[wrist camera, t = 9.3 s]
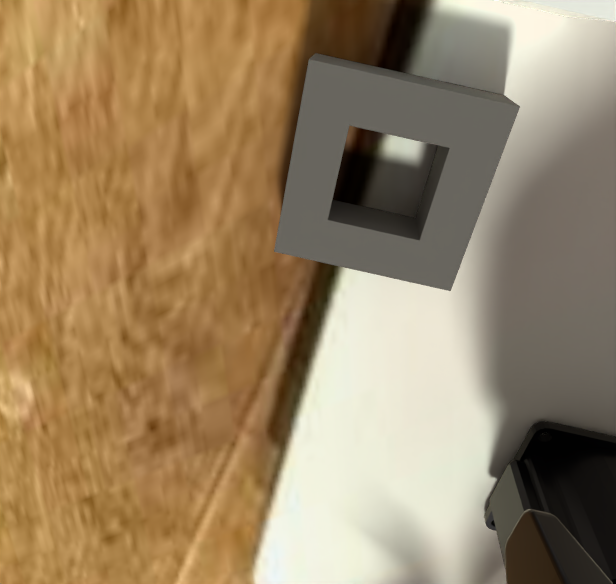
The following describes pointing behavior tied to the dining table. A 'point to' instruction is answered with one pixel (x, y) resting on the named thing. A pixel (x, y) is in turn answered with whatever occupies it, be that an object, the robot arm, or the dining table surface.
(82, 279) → the dining table surface
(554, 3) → the divider wall
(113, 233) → the dining table surface
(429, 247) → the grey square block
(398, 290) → the dining table surface
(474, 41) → the dining table surface
